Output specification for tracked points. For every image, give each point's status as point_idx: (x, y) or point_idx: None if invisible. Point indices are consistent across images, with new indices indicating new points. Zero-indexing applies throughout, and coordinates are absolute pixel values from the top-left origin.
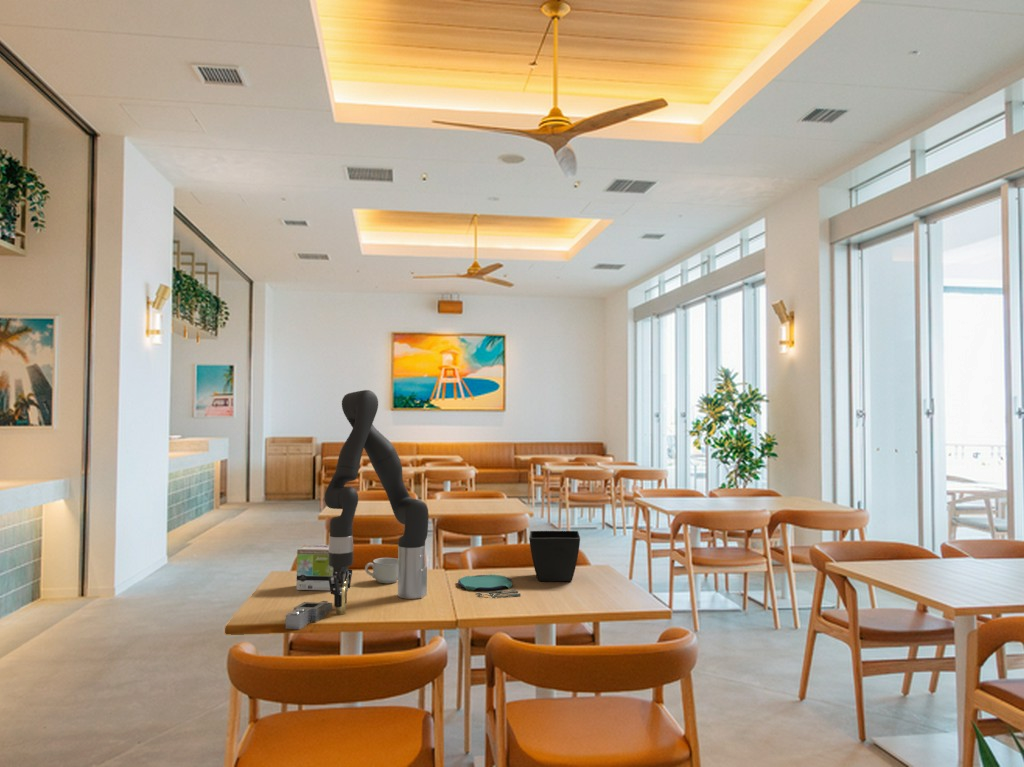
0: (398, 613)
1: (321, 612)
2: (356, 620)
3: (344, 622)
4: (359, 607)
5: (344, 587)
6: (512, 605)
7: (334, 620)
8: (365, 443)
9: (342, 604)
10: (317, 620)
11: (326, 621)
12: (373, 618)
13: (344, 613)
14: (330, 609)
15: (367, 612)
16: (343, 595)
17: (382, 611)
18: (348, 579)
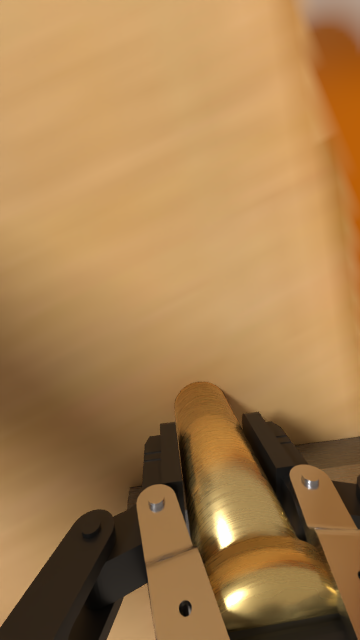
0: (89, 33)
1: (329, 466)
2: (310, 257)
3: (356, 303)
4: (39, 372)
5: (263, 522)
6: None
7: (327, 370)
8: None
9: (233, 418)
10: (356, 439)
11: (349, 398)
12: (252, 171)
13: (204, 383)
14: None
15: (131, 272)
16: (249, 458)
17: (77, 183)
18: (168, 635)
